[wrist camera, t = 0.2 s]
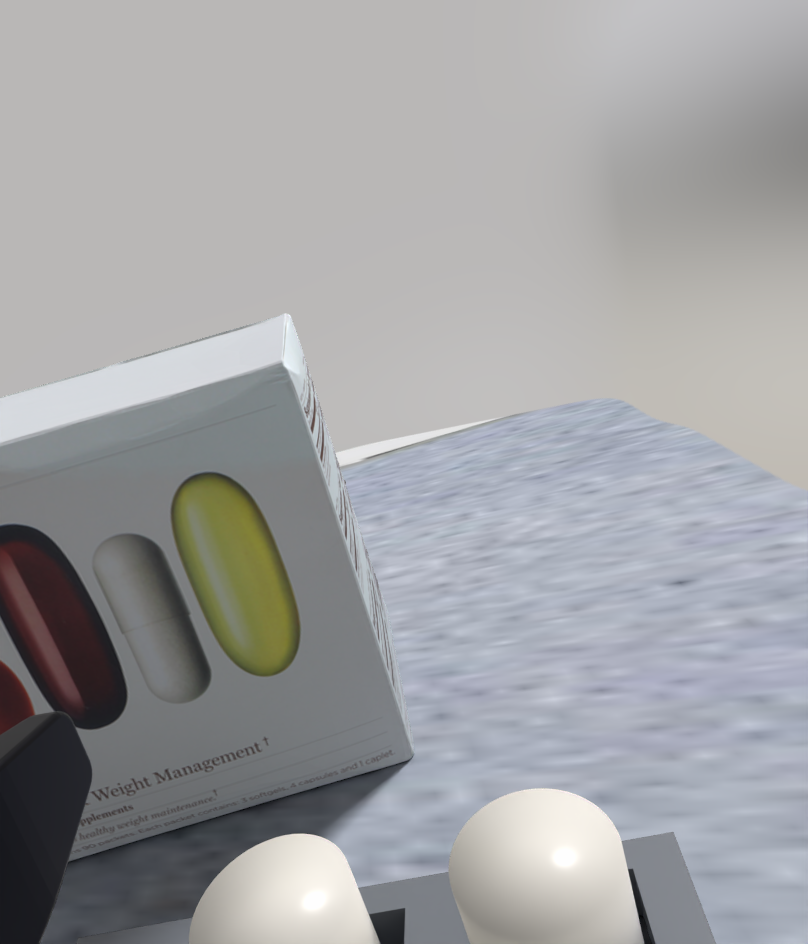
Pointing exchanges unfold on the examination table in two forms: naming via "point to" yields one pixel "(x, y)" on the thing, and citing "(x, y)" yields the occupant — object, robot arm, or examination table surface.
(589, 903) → the button
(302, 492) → the supplement box
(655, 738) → the examination table surface
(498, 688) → the examination table surface
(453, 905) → the button board
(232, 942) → the button
